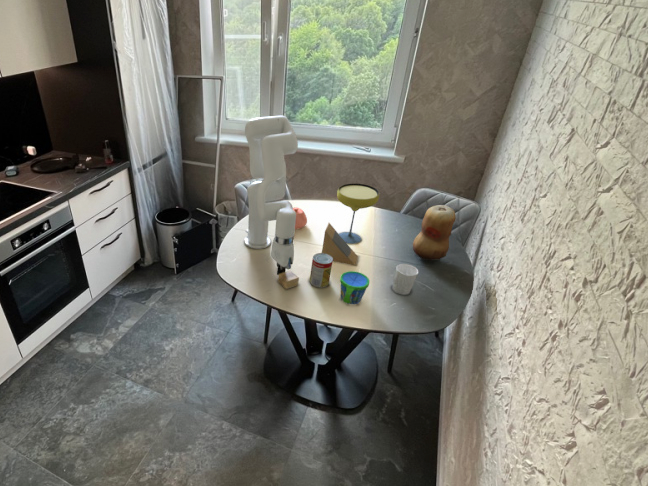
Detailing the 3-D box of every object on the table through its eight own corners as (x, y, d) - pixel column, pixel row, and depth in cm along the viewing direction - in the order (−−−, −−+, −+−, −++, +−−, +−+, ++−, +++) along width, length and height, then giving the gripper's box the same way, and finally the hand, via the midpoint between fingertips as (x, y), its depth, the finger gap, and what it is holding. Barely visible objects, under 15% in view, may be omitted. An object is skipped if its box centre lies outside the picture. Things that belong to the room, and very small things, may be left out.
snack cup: (355, 315, 150) (360, 294, 144) (329, 304, 156) (333, 283, 150) (371, 294, 160) (376, 274, 154) (345, 285, 166) (349, 264, 160)
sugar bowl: (308, 231, 204) (310, 213, 198) (281, 232, 204) (282, 214, 198) (303, 219, 214) (305, 202, 208) (277, 220, 214) (278, 203, 209)
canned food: (331, 279, 169) (335, 255, 162) (325, 289, 164) (329, 265, 157) (313, 274, 173) (316, 251, 166) (306, 284, 167) (310, 260, 161)
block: (277, 281, 170) (278, 274, 168) (289, 277, 172) (290, 270, 169) (286, 289, 165) (287, 281, 163) (298, 285, 167) (299, 277, 165)
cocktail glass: (371, 233, 199) (382, 186, 185) (365, 251, 186) (377, 202, 172) (334, 226, 206) (341, 181, 192) (326, 243, 193) (334, 195, 179)
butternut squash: (405, 259, 179) (419, 208, 165) (415, 246, 187) (430, 197, 173) (438, 270, 171) (457, 218, 157) (448, 256, 179) (466, 206, 165)
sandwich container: (355, 266, 176) (362, 236, 168) (320, 259, 182) (324, 230, 174) (358, 256, 183) (364, 227, 174) (324, 249, 189) (328, 221, 180)
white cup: (402, 298, 157) (409, 277, 151) (386, 287, 163) (391, 267, 157) (416, 291, 160) (423, 271, 154) (399, 281, 166) (405, 261, 160)
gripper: (266, 232, 166) (263, 268, 176) (287, 249, 154) (284, 286, 165) (281, 227, 168) (278, 263, 179) (303, 244, 157) (298, 281, 167)
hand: (280, 274), depth 172 cm, fingers closed
